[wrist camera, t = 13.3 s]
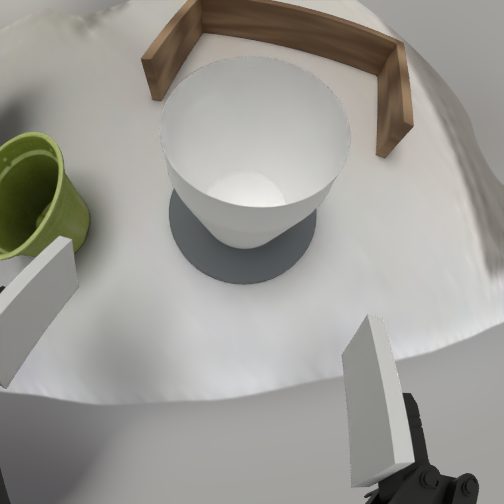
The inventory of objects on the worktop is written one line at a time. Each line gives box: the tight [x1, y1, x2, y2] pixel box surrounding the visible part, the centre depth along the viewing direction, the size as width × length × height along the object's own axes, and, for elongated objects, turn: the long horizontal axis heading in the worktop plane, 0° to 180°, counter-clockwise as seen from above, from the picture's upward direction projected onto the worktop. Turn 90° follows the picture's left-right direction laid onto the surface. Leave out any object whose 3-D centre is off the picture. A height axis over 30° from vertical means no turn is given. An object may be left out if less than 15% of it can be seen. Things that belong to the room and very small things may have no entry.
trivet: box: [169, 189, 316, 284], centre depth 25 cm, size 12×12×1 cm
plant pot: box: [0, 132, 90, 260], centre depth 19 cm, size 9×9×9 cm
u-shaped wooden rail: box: [141, 0, 414, 158], centre depth 26 cm, size 14×24×6 cm, turn 76°
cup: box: [160, 57, 350, 249], centre depth 18 cm, size 9×9×12 cm
